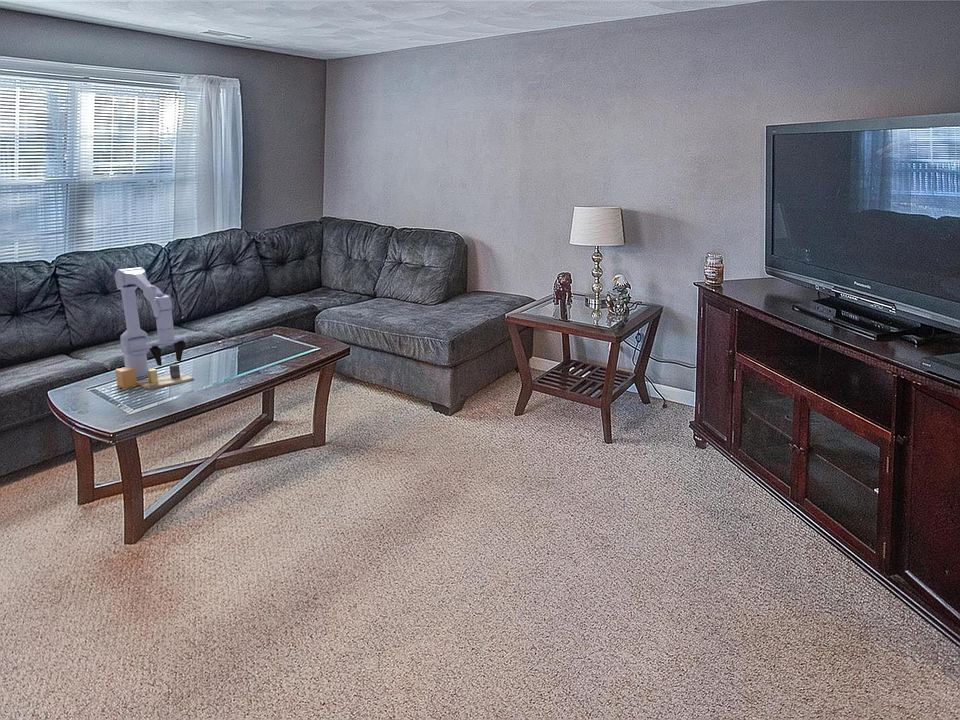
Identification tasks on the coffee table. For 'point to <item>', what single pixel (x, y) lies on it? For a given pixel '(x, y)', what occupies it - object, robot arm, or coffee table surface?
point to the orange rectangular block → (126, 377)
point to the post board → (167, 379)
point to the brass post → (152, 376)
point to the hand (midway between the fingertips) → (169, 363)
